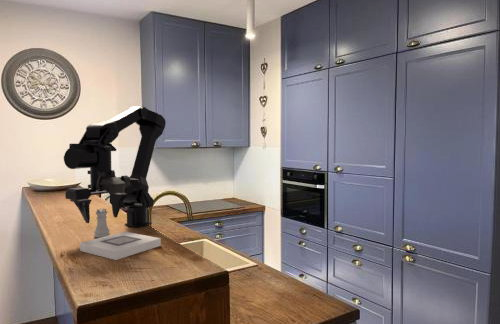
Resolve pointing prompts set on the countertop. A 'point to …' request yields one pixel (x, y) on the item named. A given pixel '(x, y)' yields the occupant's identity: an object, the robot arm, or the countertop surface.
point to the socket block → (120, 245)
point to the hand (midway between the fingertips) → (102, 220)
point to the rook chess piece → (101, 224)
